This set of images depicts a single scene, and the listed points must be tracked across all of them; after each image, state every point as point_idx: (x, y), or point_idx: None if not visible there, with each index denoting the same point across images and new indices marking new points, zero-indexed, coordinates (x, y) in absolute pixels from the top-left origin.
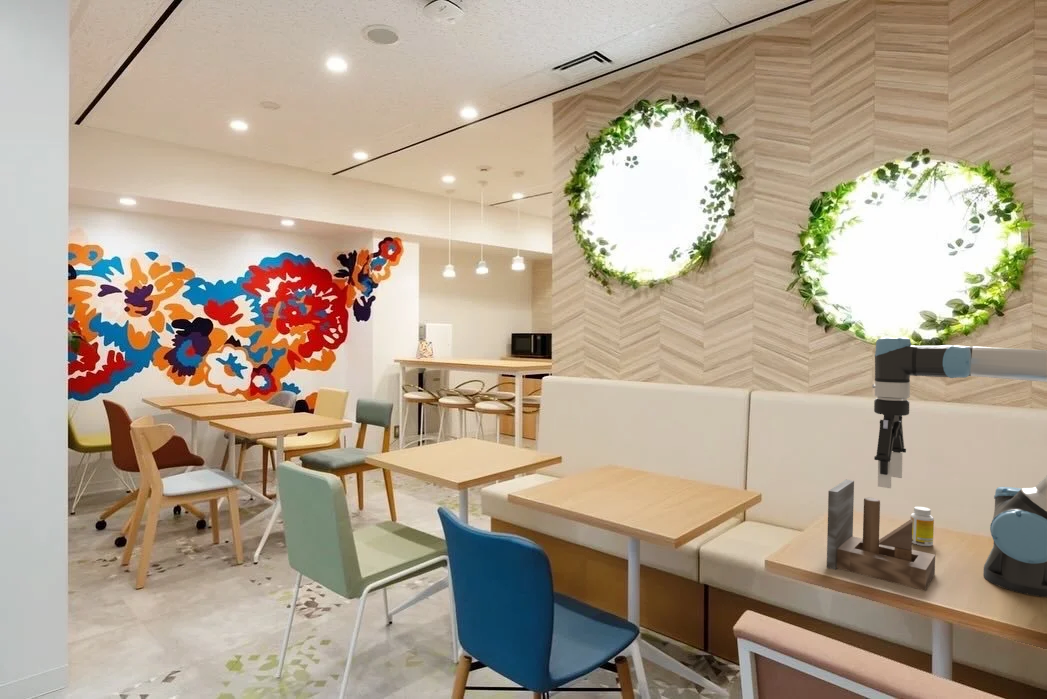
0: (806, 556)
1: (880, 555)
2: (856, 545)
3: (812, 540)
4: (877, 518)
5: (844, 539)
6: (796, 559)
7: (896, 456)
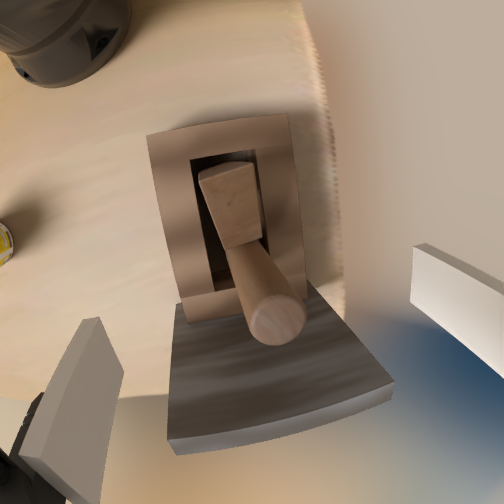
0: None
1: (273, 219)
2: None
3: None
4: (273, 268)
5: None
6: None
7: (75, 455)
